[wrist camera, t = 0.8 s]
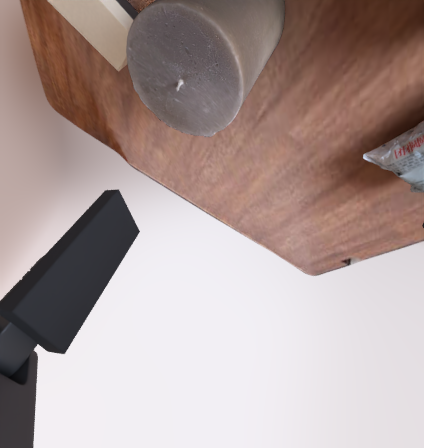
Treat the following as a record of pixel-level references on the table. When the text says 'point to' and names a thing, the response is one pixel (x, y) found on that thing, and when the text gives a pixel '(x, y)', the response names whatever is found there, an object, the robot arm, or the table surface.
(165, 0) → the pillar candle
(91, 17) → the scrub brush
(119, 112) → the table surface
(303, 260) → the table surface
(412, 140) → the packaged food
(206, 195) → the table surface
